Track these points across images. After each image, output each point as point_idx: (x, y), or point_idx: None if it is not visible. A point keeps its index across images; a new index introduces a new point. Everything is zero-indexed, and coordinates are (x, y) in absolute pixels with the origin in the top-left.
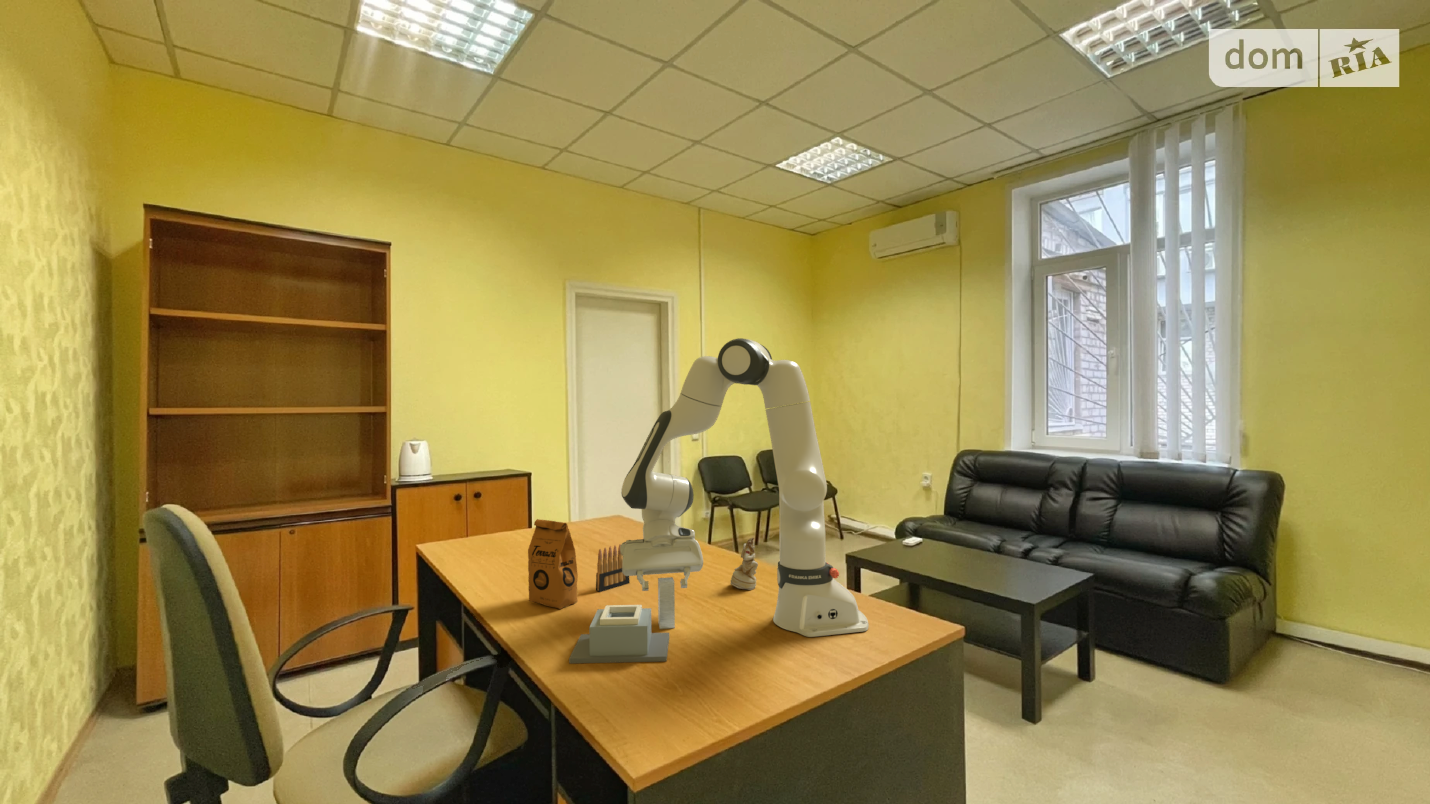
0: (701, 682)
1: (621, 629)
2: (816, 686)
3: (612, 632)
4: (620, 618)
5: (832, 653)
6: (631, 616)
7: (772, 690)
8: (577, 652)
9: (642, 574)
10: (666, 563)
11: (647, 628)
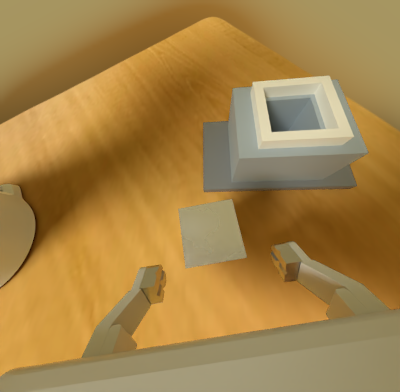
0: (167, 93)
1: None
2: (70, 93)
3: None
4: (288, 80)
5: (19, 147)
6: None
7: (108, 86)
8: None
9: (336, 290)
10: (216, 372)
11: (232, 94)
